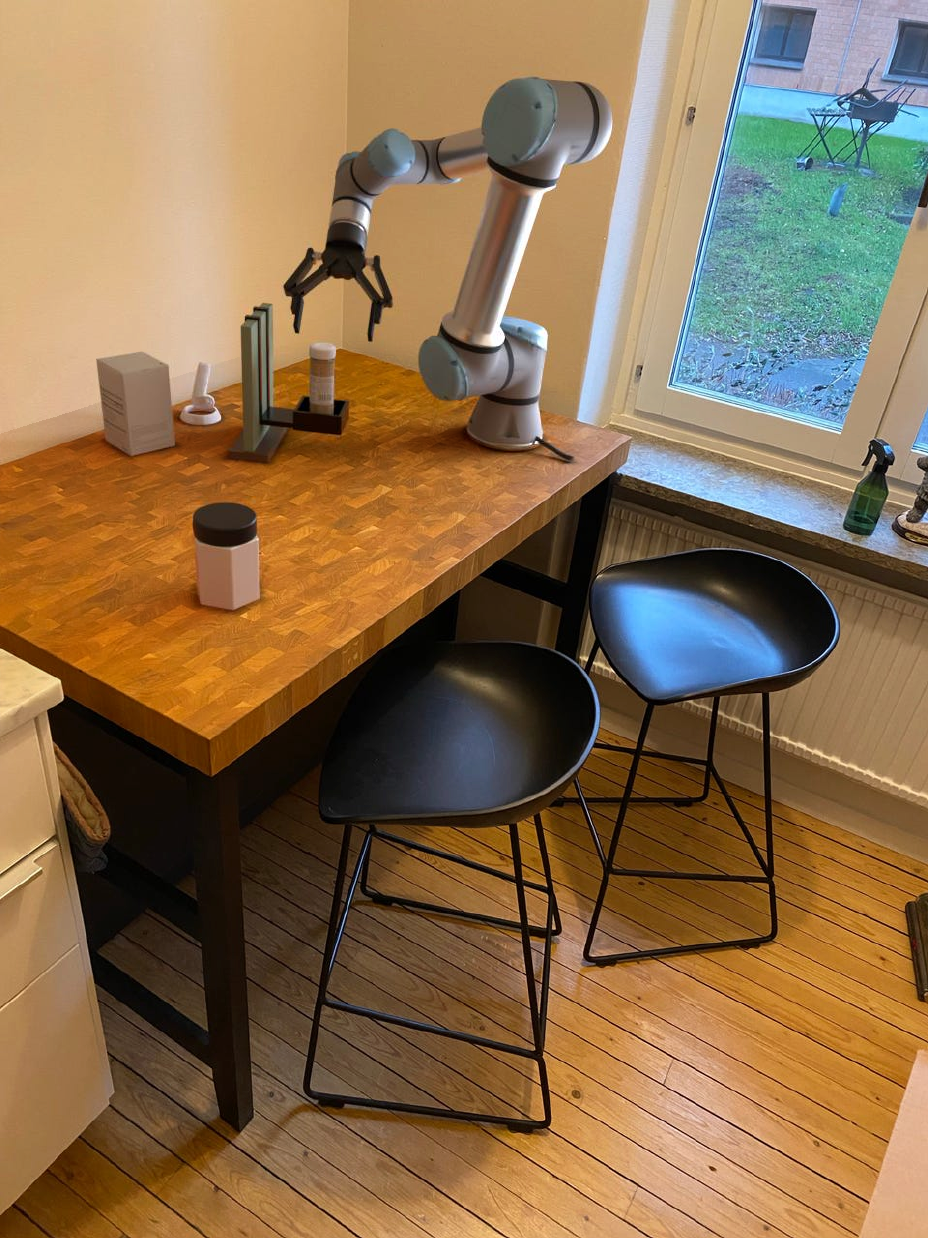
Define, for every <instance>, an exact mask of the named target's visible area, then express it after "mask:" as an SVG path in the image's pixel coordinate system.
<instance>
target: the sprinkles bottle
mask: <svg viewBox="0 0 928 1238" xmlns="http://www.w3.org/2000/svg"><path fill="white" fill-rule="evenodd" d="M308 355H309V359H310V360H309V361H310V362H309V363H310V365H309V367H310V368H309V369H310V371H309V396H310V412H312V413H321V414H329V415H333V410H334V399H335V361H336V356H337V348H336V345H335V344H332V343H329V342H324V341H323V342H313V343H311V344H310V345H309V352H308Z"/></svg>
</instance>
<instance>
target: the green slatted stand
mask: <svg viewBox="0 0 928 1238" xmlns="http://www.w3.org/2000/svg"><path fill="white" fill-rule="evenodd" d="M258 307H266V308H269V366H270V407H275V406H274V404H275V403H274V401H275V400H274V304H273V303H267V302H262V303H261V304H260V305H259V306H258ZM251 315H252V316H261V356H262V415H263V413H264V412H265V410H266V409H267V373H266V311H257V310H256V311H255V312H254V313H253V312H252V313H251ZM240 351H241V352H240V357H241V359H240V361H241V392H242V393H241V394H242V395H241V396H242V398H241V399H242V401H241V402H242V431H241V432H240V433H239V435H238V437H236V439H235V441H234V442H233V443H232V445H231V447H229V449H228V451H227V452H228V459H229V460H230V459H231V460H239V461H247V462H248V461H249V462H257V463H266V464H268V463H269V462H270V460H271V458H272V457H273V455H274V453H275V452H276V450H277V448H278V446H279V444H280V443H281V441H282V440H283V438H284V436H285V434H286V433H287V431H288V429H289V428H286V427H277V426H268V425H259V373H258V320H250V319H247V320H246V321H245V320H244V322H243V323H242V324H241V325H240Z"/></svg>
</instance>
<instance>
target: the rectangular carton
mask: <svg viewBox="0 0 928 1238" xmlns="http://www.w3.org/2000/svg"><path fill="white" fill-rule="evenodd" d="M95 362H96V369H97V370H96V371H97V377H98V387H99V394H100V402H101V403H100V404H101V412H102V420H103V429H104V437H105V442H108V443H109V444H110V445H113V446H114V447H115V448H116V449H119V451H120V450H121V451H122V452H124V453H125V454H127V456H130V457H133V456H137V455H141V454H146V453H150V452H155V451H158V450H162V449H167V448H170V447H171V448H172V447H175V446H176V441H175V440H176V439H175V429H174V427H175V426H174V417H173V416H174V415H173V414H174V413H173V405H172V404H173V403H172V391H171V382H170V381H171V379H170V366H169V364H168V363H165V362H163V361H161V360H159V359H157V358H155V357H154V356H152V355H150V354H149V353H147V352H145V351H138V352H131V353H125V354H119V355H112V356H107V357H100V358H96V361H95Z"/></svg>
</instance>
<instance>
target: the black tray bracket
mask: <svg viewBox="0 0 928 1238" xmlns="http://www.w3.org/2000/svg"><path fill="white" fill-rule="evenodd" d="M256 310H257V311H266V373H267V409H266V410H265V412H264V413H263V415H262V356H261V316H252V314H253V313H254V312H255V311H256ZM252 314H245V316H244V322H245V321H246V320H247V319H250V320H258V373H259V425H268V426H277V427H286V428H288V429H292V431H299V432H306V433H315V434H324V435H331V436H340V437H341V436H342V435H343V432H344V430H345V428H346V426H347V423H348V421H349V413H350V401H349V400H345V399H344V400H343V399H336V398H334V410H333V415H329V414H321V413H312V412H310V395H301V397H300V399H299V401H298V402H297V404H296V405H295V407H294V408H288V407H287V408H286V407H278V406H274V407H270V366H269V308H266V307H259V306H257V305H255V306H253V307H252Z"/></svg>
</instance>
